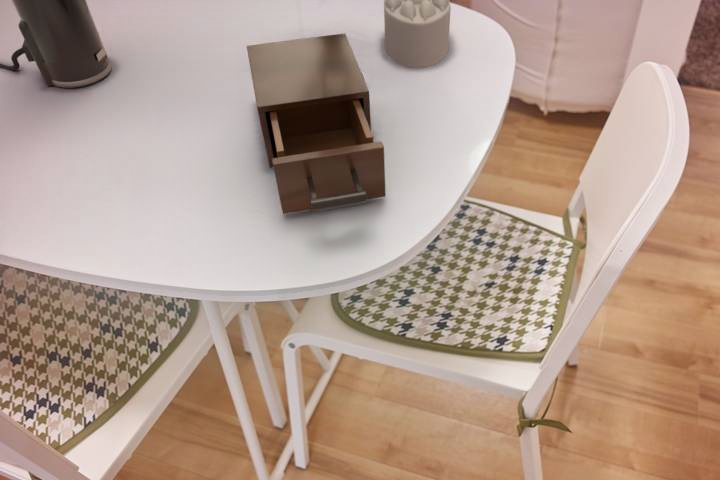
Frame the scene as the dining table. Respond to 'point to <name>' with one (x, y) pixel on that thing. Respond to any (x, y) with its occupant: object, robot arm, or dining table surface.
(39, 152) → the dining table surface
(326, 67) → the cabinet
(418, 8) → the lumpy-topped squat cylinder
